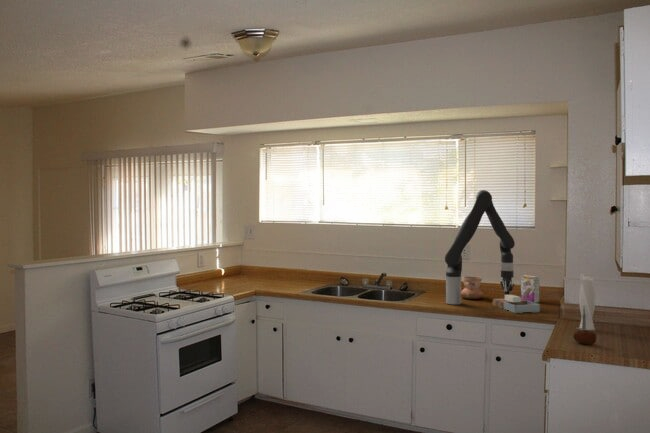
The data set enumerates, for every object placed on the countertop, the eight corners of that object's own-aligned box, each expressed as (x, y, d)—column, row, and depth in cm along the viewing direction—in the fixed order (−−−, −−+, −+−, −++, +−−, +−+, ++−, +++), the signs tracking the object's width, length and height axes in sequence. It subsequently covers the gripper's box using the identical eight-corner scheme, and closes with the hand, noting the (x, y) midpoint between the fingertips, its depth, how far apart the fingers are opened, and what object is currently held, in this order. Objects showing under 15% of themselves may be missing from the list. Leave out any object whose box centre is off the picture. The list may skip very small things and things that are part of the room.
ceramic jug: (476, 301, 361) (477, 279, 361) (455, 298, 371) (456, 277, 370) (487, 298, 375) (488, 276, 375) (467, 295, 385) (468, 274, 384)
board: (492, 305, 348) (492, 298, 348) (516, 304, 351) (516, 297, 351) (503, 309, 335) (503, 302, 335) (527, 307, 338) (527, 301, 338)
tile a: (504, 299, 344) (504, 294, 344) (512, 299, 345) (512, 294, 345) (508, 300, 339) (508, 296, 339) (516, 300, 340) (516, 295, 340)
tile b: (508, 301, 339) (508, 296, 339) (516, 300, 340) (516, 295, 340) (513, 302, 334) (513, 297, 334) (520, 302, 335) (520, 297, 335)
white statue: (574, 327, 286) (574, 273, 285) (589, 327, 286) (589, 272, 286) (583, 331, 277) (583, 275, 277) (598, 331, 278) (599, 274, 277)
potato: (592, 347, 247) (592, 332, 247) (570, 343, 253) (570, 329, 253) (598, 344, 252) (598, 330, 251) (577, 340, 258) (577, 326, 258)
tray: (503, 309, 335) (503, 301, 335) (527, 307, 338) (528, 300, 338) (515, 313, 322) (515, 305, 322) (540, 312, 325) (540, 304, 325)
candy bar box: (520, 300, 363) (520, 275, 363) (525, 299, 365) (525, 274, 365) (534, 303, 353) (534, 277, 353) (539, 302, 356) (539, 276, 355)
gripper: (496, 268, 352) (496, 296, 352) (507, 271, 339) (507, 299, 339) (507, 268, 353) (506, 295, 354) (518, 270, 340) (518, 299, 341)
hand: (507, 297), depth 347 cm, fingers closed
